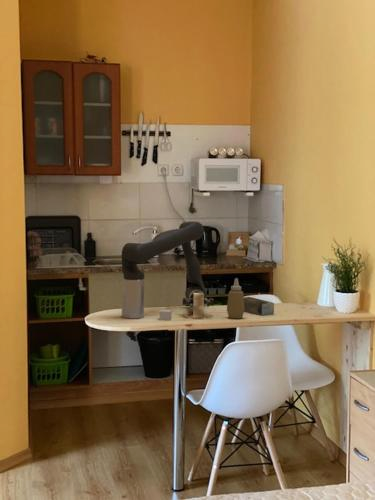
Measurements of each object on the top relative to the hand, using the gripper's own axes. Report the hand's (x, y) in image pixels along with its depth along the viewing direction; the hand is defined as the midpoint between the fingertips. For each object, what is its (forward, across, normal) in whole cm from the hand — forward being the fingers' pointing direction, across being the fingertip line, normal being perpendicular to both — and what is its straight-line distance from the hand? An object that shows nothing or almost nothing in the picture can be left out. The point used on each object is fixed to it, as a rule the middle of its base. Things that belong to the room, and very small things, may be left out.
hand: (198, 304), depth 288 cm
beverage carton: (-19, +28, +7) cm, 35 cm away
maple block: (-2, 0, +6) cm, 7 cm away
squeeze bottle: (-4, +17, +7) cm, 19 cm away
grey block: (+3, -15, +7) cm, 16 cm away
